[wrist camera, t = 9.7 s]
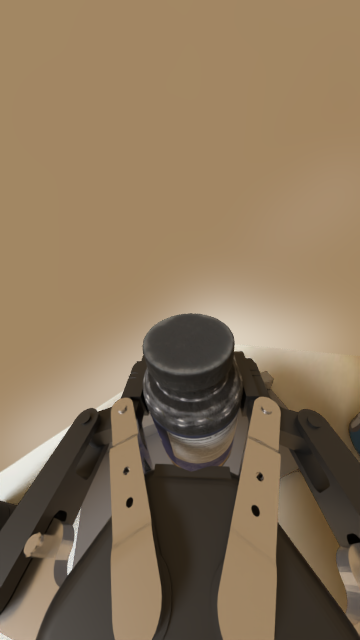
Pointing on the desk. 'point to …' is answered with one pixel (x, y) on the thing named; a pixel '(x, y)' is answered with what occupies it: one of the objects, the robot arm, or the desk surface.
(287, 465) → the price rail shelf
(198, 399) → the pill bottle
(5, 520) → the black water bottle
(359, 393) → the desk surface
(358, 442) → the soda can
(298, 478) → the desk surface
